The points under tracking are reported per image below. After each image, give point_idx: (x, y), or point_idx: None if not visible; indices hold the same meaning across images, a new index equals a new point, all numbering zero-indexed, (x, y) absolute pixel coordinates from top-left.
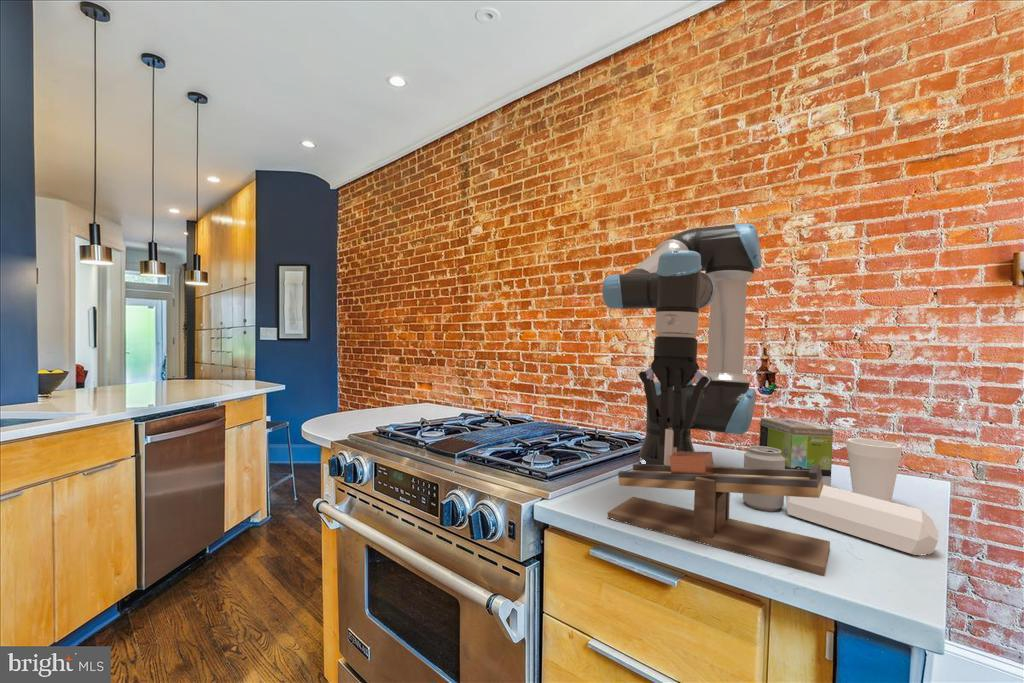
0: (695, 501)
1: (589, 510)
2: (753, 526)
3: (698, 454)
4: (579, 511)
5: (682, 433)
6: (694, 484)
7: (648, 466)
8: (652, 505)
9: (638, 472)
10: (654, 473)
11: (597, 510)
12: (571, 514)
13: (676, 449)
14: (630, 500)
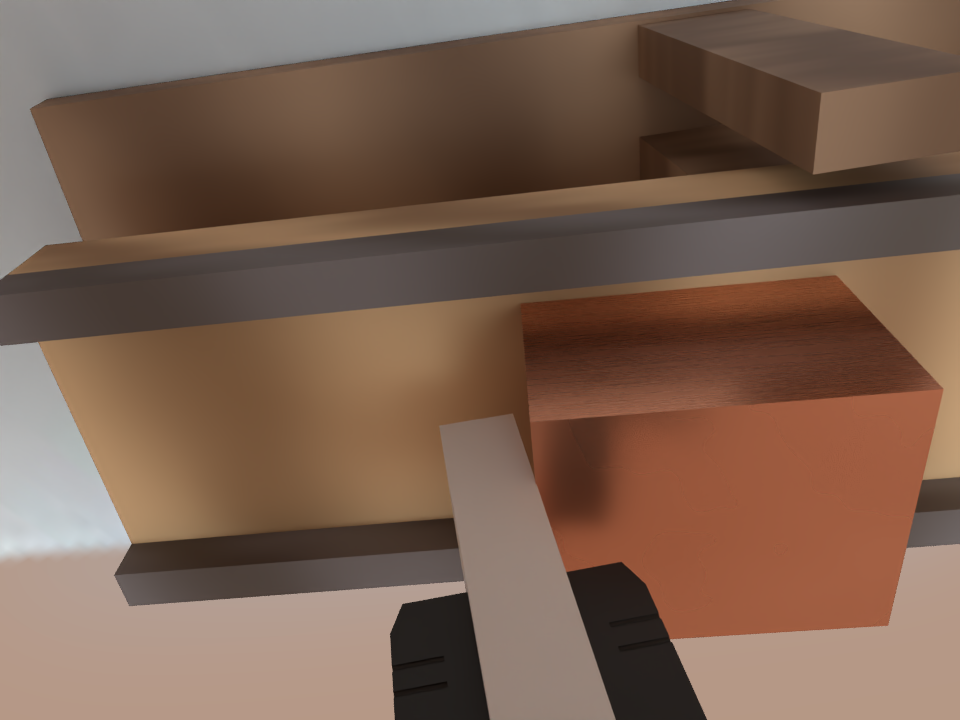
0: None
1: (27, 442)
2: (898, 35)
3: (815, 550)
4: (12, 492)
5: (699, 712)
6: None
7: (173, 325)
8: (262, 180)
9: (287, 580)
10: (426, 579)
11: (51, 409)
12: (31, 547)
13: (545, 515)
14: (93, 209)
